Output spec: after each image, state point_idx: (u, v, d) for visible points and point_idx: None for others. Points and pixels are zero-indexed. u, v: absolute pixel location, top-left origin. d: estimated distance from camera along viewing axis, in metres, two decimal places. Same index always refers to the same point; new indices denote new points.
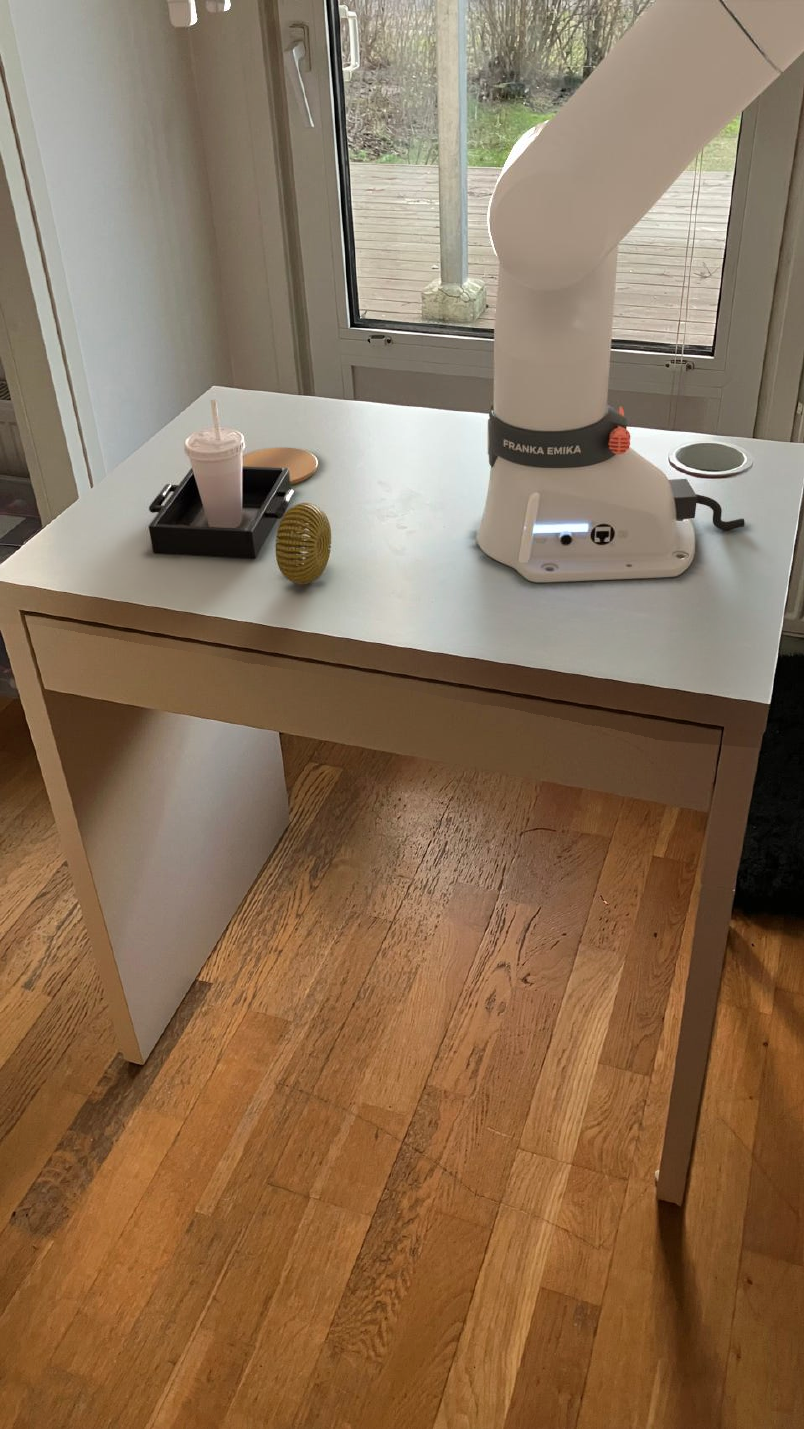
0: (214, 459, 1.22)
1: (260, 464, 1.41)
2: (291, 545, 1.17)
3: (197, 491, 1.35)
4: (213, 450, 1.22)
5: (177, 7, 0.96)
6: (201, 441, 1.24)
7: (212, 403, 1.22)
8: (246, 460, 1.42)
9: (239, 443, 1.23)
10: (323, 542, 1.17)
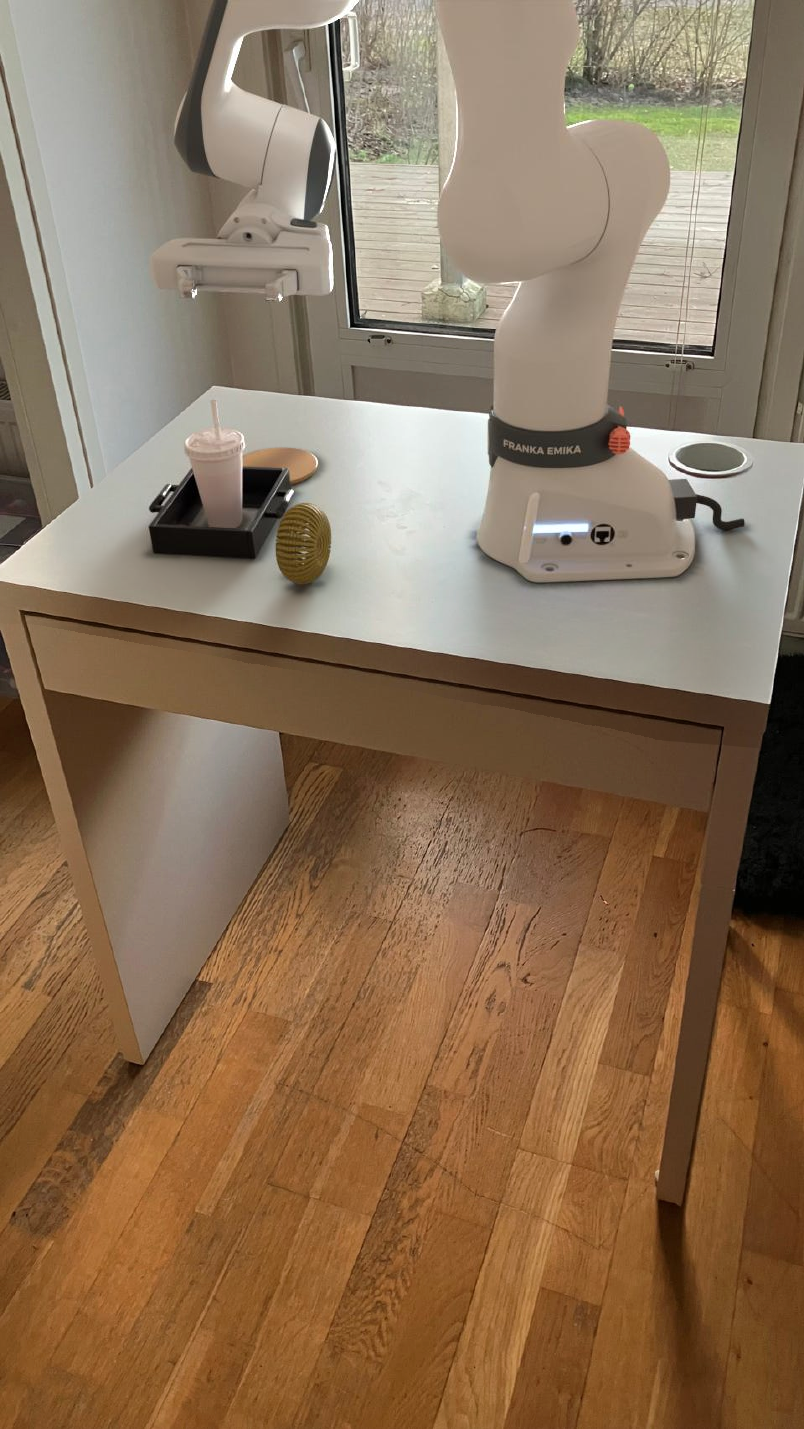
0: (214, 459, 1.22)
1: (260, 464, 1.41)
2: (291, 545, 1.17)
3: (197, 491, 1.35)
4: (213, 450, 1.22)
5: None
6: (201, 441, 1.24)
7: (212, 403, 1.22)
8: (246, 460, 1.42)
9: (239, 443, 1.23)
10: (323, 542, 1.17)
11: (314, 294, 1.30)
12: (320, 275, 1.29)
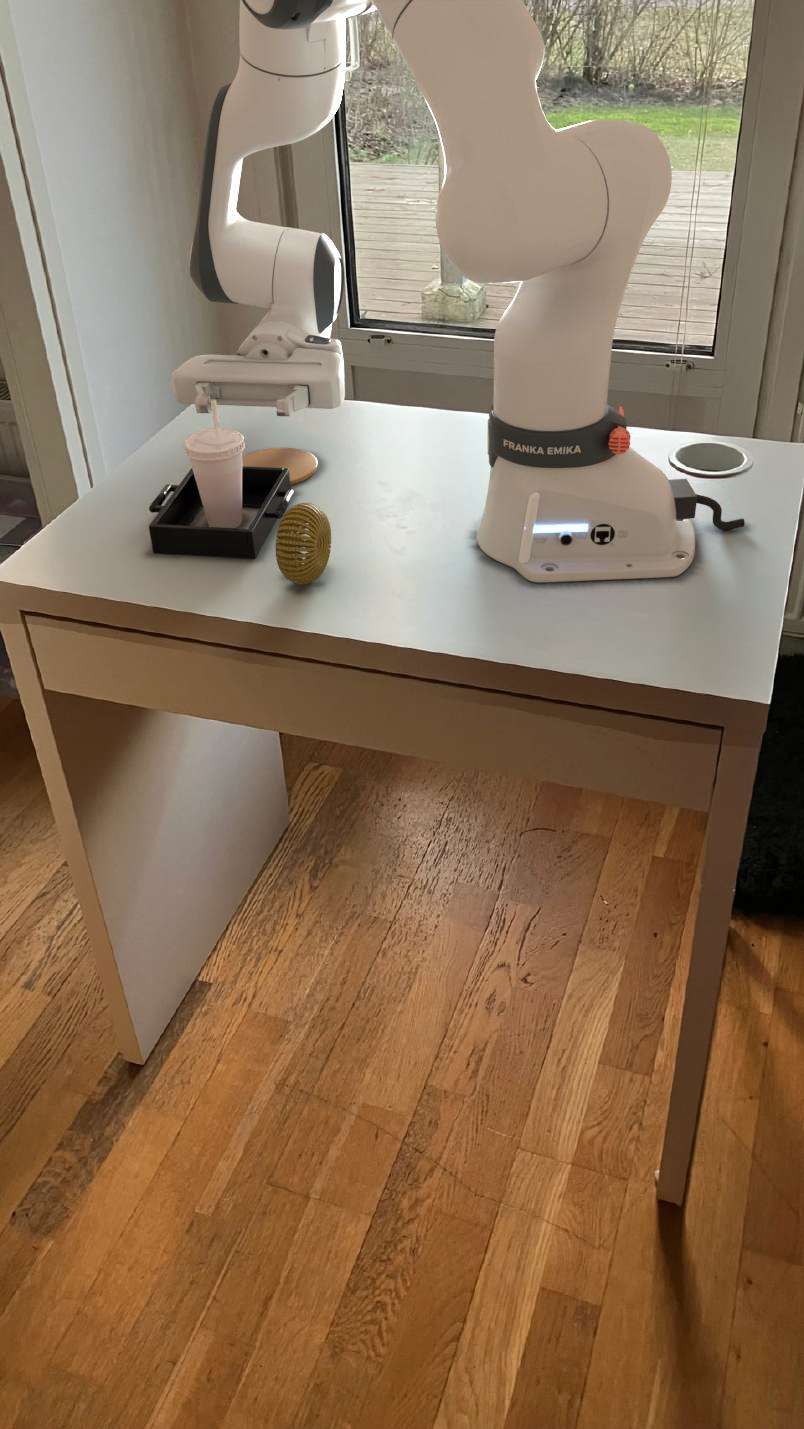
0: (214, 459, 1.22)
1: (260, 464, 1.41)
2: (291, 545, 1.17)
3: (197, 491, 1.35)
4: (213, 450, 1.22)
5: None
6: (201, 441, 1.24)
7: (212, 403, 1.22)
8: (246, 460, 1.42)
9: (239, 443, 1.23)
10: (323, 542, 1.17)
11: (325, 407, 1.36)
12: (330, 390, 1.35)
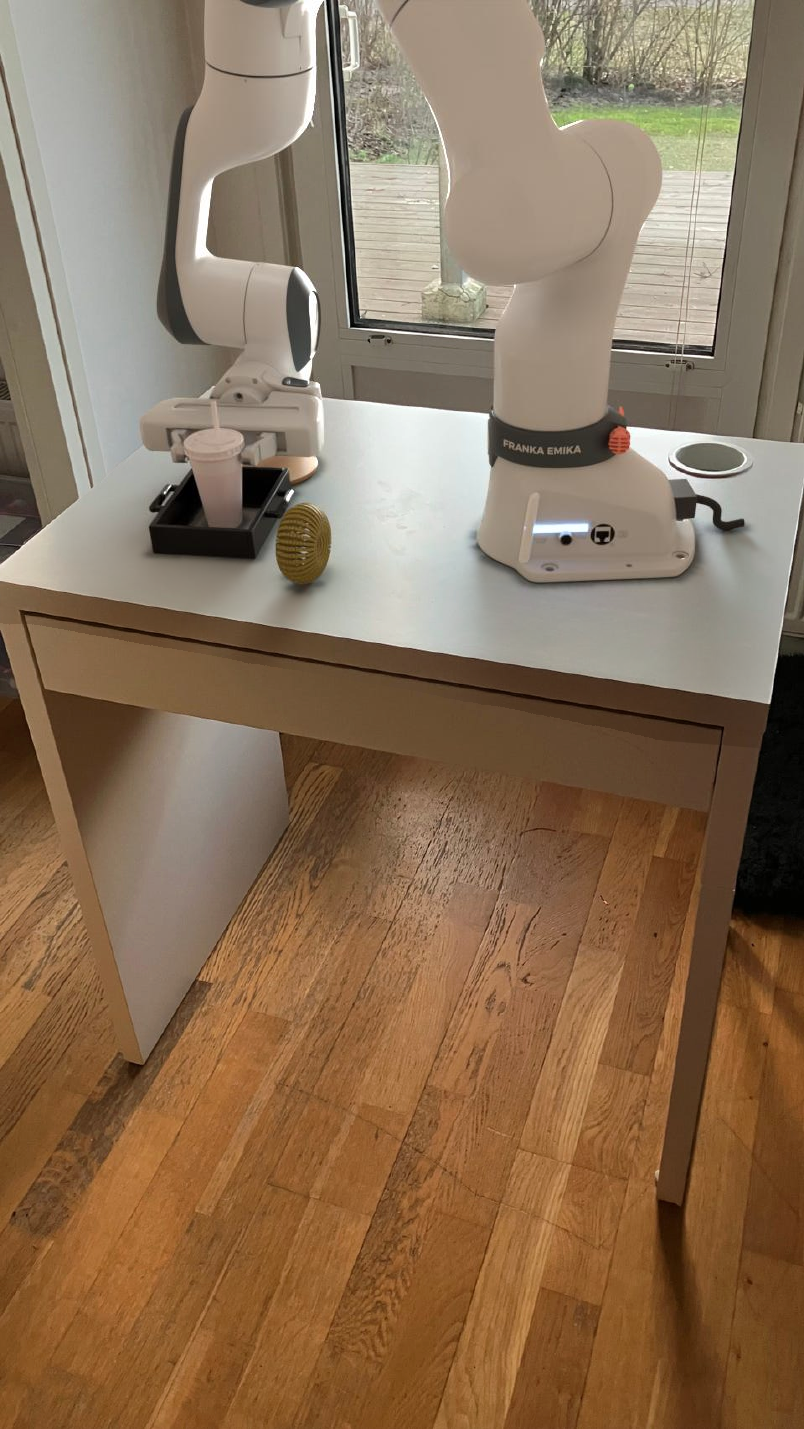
0: (213, 459, 1.22)
1: (260, 464, 1.41)
2: (291, 545, 1.17)
3: (197, 491, 1.35)
4: (213, 450, 1.22)
5: None
6: (201, 441, 1.24)
7: (212, 403, 1.22)
8: None
9: (239, 443, 1.23)
10: (323, 542, 1.17)
11: (302, 455, 1.28)
12: (308, 438, 1.26)
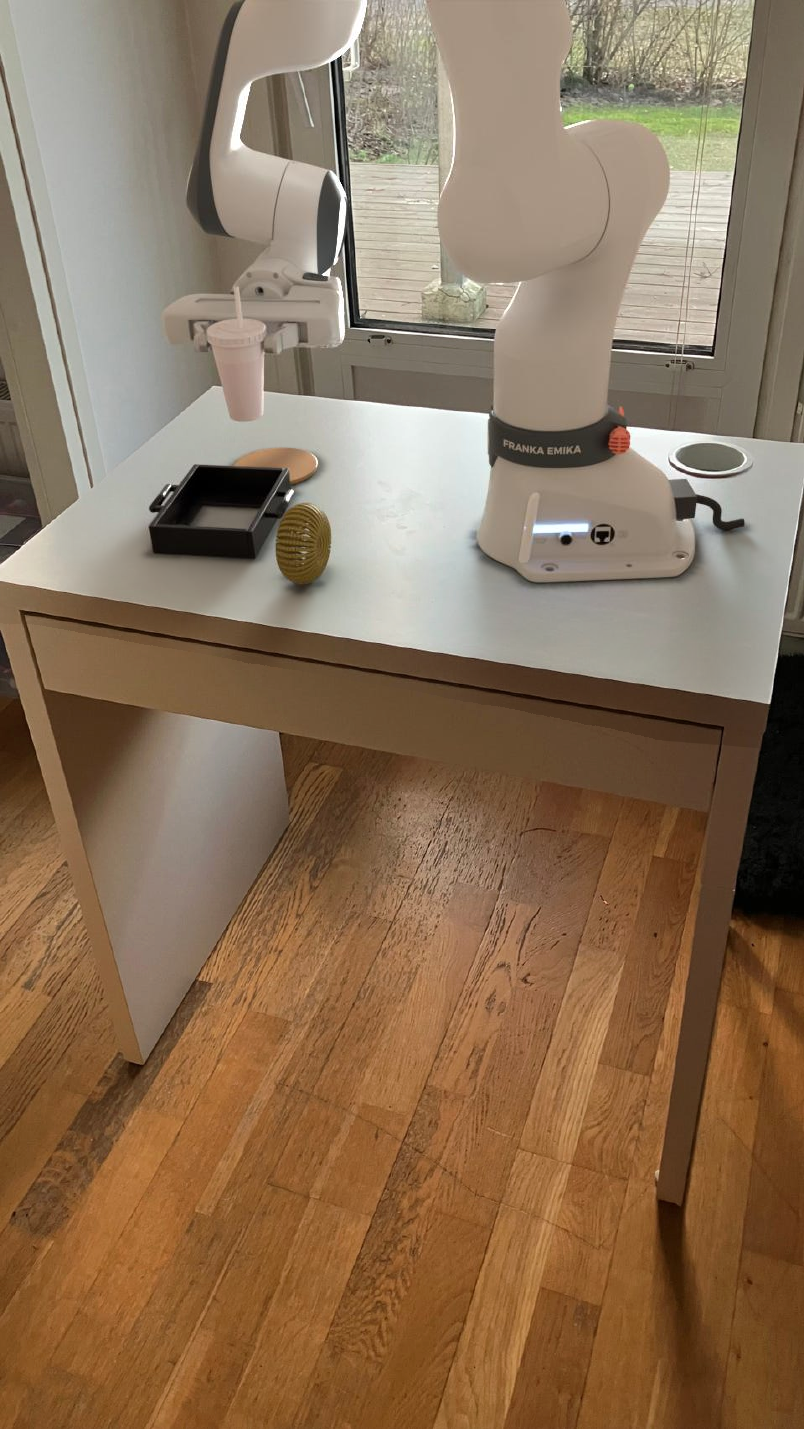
0: (236, 346, 1.23)
1: (260, 464, 1.41)
2: (291, 545, 1.17)
3: (197, 491, 1.35)
4: (236, 336, 1.23)
5: None
6: (224, 329, 1.25)
7: (235, 289, 1.23)
8: (246, 460, 1.42)
9: (261, 331, 1.24)
10: (323, 542, 1.17)
11: (323, 346, 1.29)
12: (329, 328, 1.27)
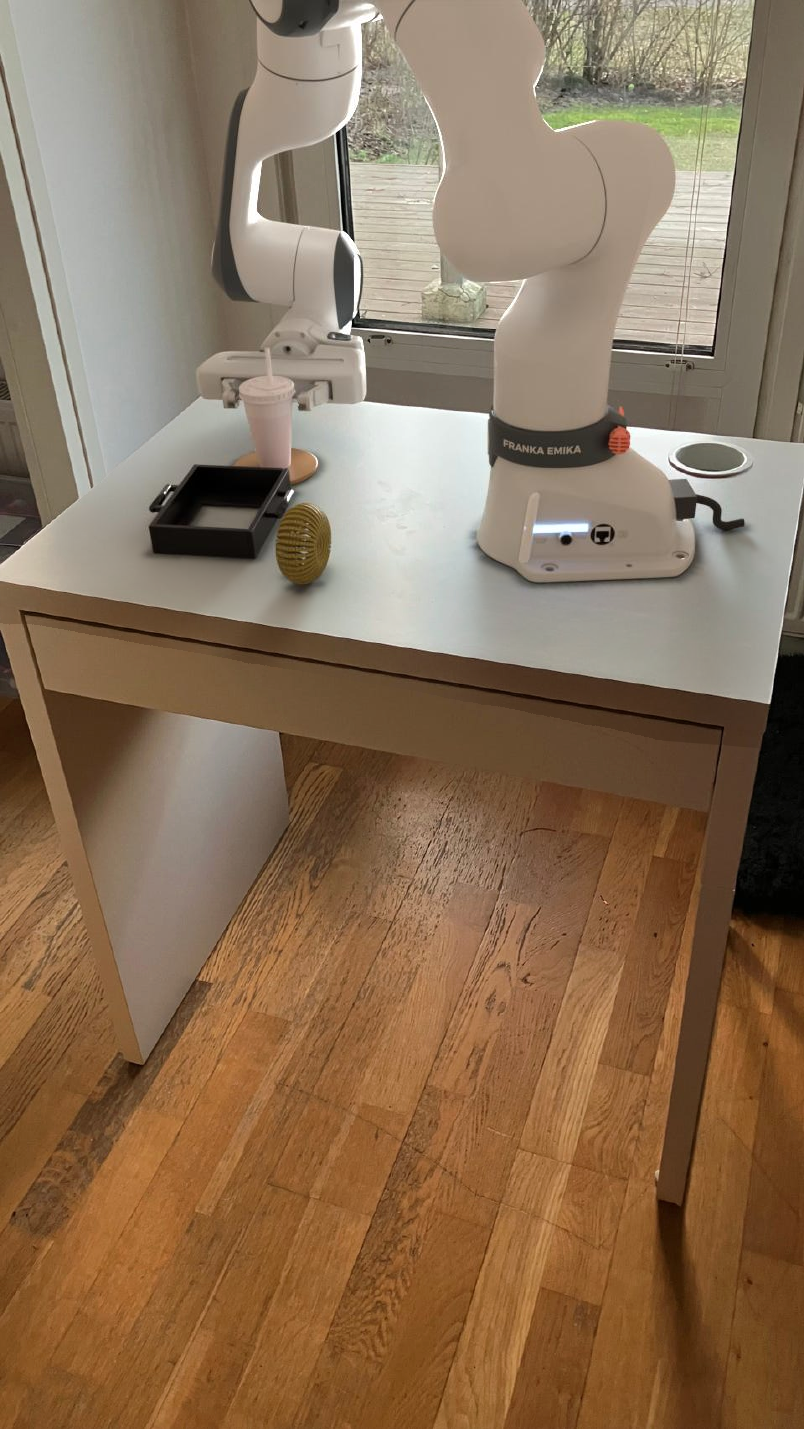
0: (267, 403, 1.33)
1: None
2: (291, 545, 1.17)
3: (197, 491, 1.35)
4: (267, 394, 1.33)
5: None
6: (255, 387, 1.34)
7: (266, 351, 1.32)
8: (246, 460, 1.42)
9: (290, 388, 1.34)
10: (323, 542, 1.17)
11: (347, 403, 1.38)
12: (353, 386, 1.37)
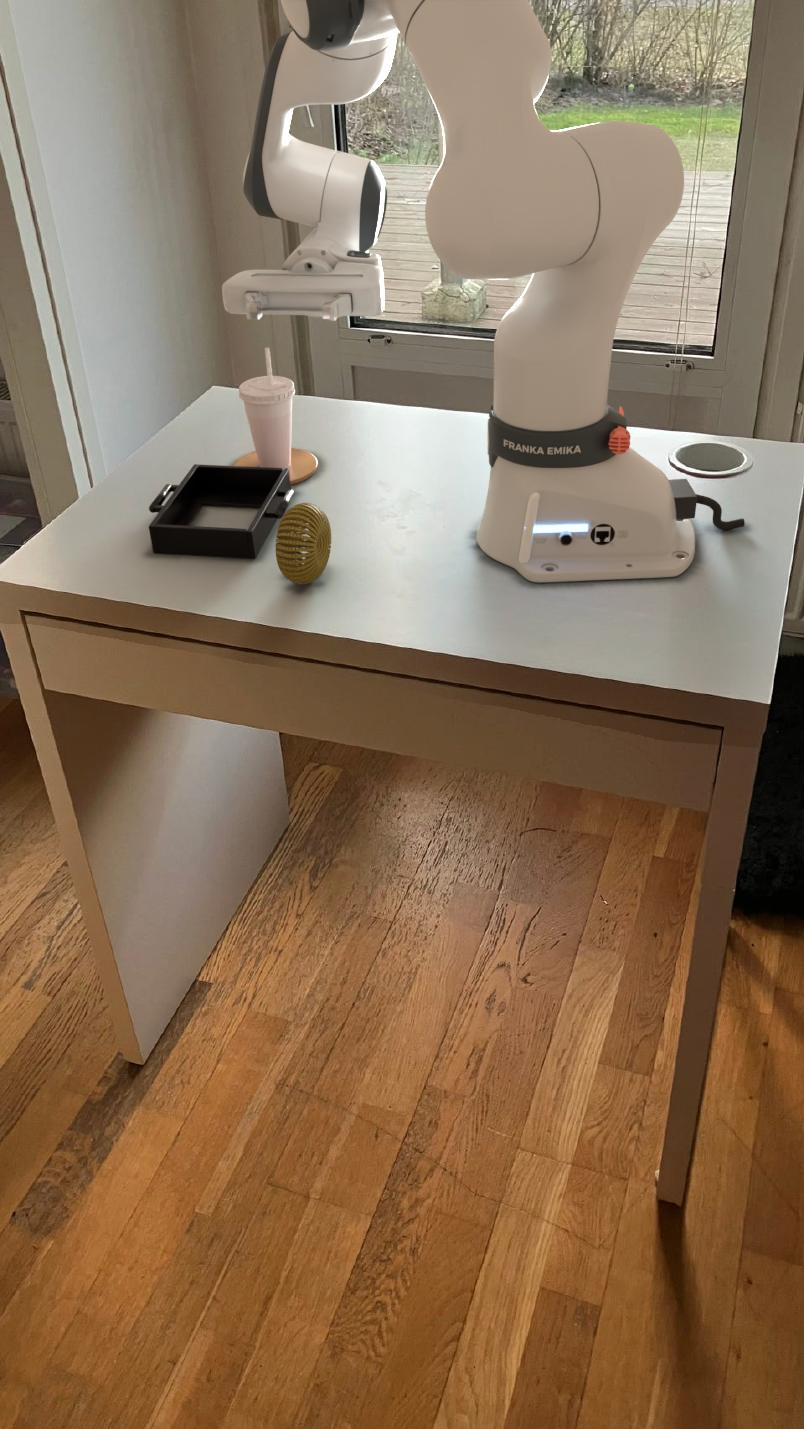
0: (267, 403, 1.33)
1: None
2: (291, 545, 1.17)
3: (197, 491, 1.35)
4: (267, 394, 1.33)
5: None
6: (255, 387, 1.34)
7: (266, 351, 1.32)
8: (246, 460, 1.42)
9: (290, 388, 1.34)
10: (323, 542, 1.17)
11: (366, 315, 1.45)
12: (372, 298, 1.43)
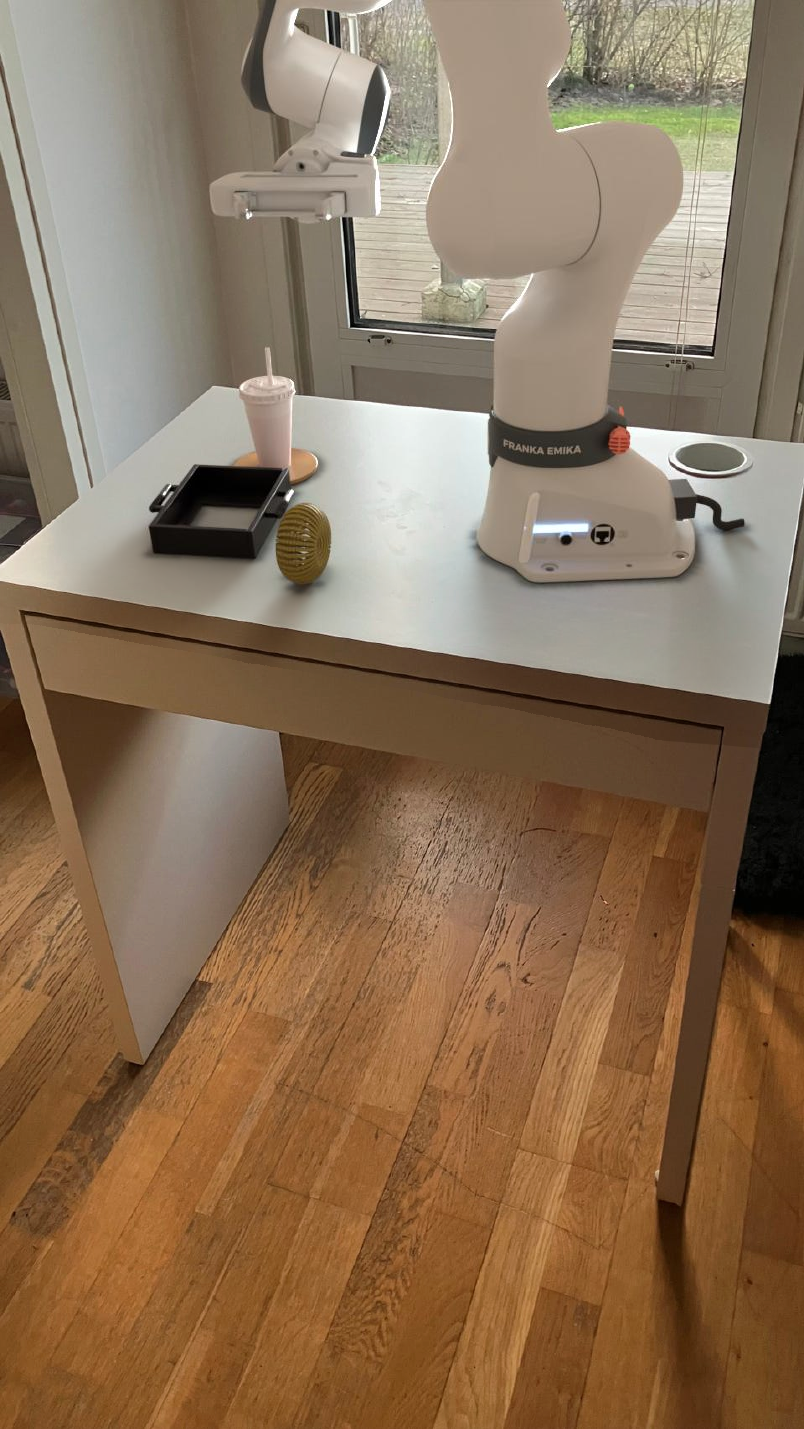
0: (267, 403, 1.33)
1: None
2: (291, 545, 1.17)
3: (197, 491, 1.35)
4: (267, 394, 1.33)
5: None
6: (255, 387, 1.34)
7: (266, 351, 1.32)
8: (246, 460, 1.42)
9: (290, 388, 1.34)
10: (323, 542, 1.17)
11: (361, 215, 1.38)
12: (367, 197, 1.37)
